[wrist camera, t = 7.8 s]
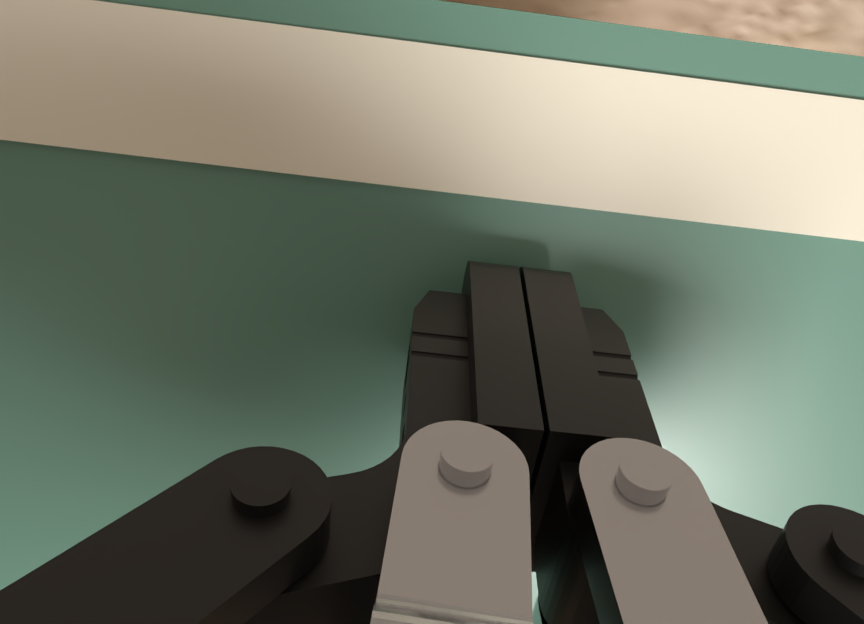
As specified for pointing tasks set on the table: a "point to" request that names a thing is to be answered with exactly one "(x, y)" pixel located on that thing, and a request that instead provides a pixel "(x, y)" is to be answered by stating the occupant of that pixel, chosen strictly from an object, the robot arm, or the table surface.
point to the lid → (406, 237)
